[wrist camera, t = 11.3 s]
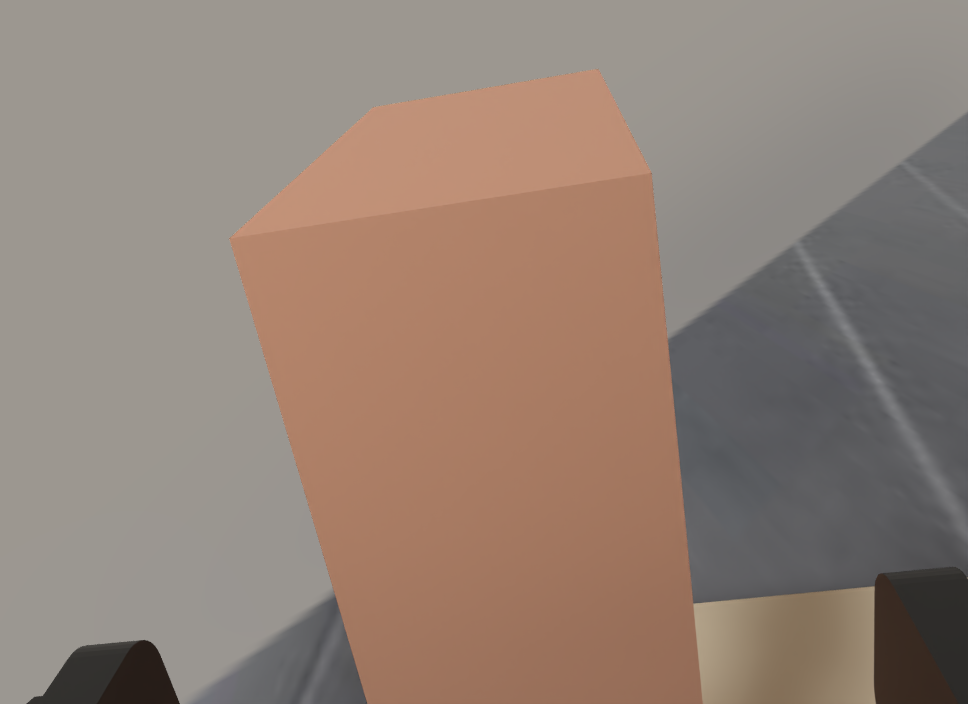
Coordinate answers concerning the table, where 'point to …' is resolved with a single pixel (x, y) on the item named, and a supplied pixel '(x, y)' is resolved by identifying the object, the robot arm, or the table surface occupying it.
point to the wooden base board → (788, 648)
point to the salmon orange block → (485, 398)
